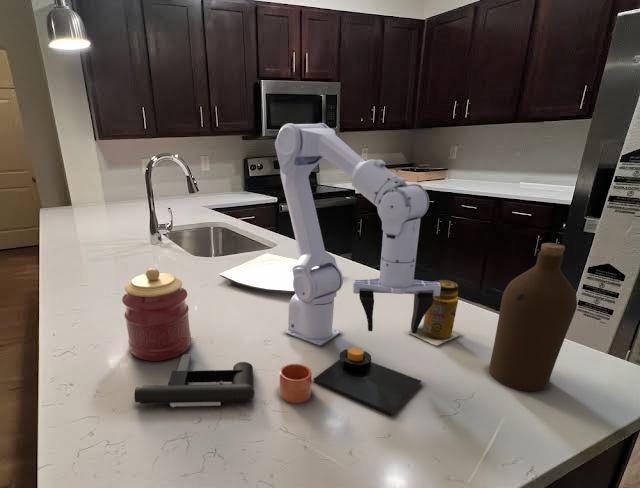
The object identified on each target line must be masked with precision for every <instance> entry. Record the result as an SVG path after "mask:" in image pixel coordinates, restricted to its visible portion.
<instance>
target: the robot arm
mask: <svg viewBox="0 0 640 488" xmlns="http://www.w3.org/2000/svg"><path fill="white" fill-rule="evenodd" d="M274 148H275V152H276V157H277V160H278V164H279V173H280V179H281V183H282V187H283V191H284V196H285V199H286V200H285V201H286V204H287V210H288V212H289V217H290V222H291V225H292V230H293V234H294V238H295V243H296V248H297V250H298V256H299V258H298V259H297V260H298V261H297V262H296V264H295V265H294V266H293V268H292V271H293V288H294V291H295V293H294V295H292V297H291V299H290V301H289V304H288V318H287V319H288V321H287V322H288V323H287V325H288V326H287V330H286V331H285V333H286V334H287V335H290V336H292V337H295V338H298V339H300V340H304V341H306V342H309V343H311V344H315V345H317V346H319V347H320V346H321V347H322V346H323V345H324V344H327V342H329V341H331V340H332V339H334V338H335V337H336V336H338V335H339V334H340V333H341V332H340V330H338V329H335V328H333V323H334V321H333V320H334V308H335V307H334V306H335V298H336V297H337V292H339V291H341V289H342V287H343V285H344V277H343V273H342V271H341V269H340V268H339V267H338V264H337V261H336V258H335V256H333V255H332V254H330V253H329V252H327V251H326V249H325V244H324V239H323V235H322V230H321V228H320V227H321V226H320V223H319V218H318V214H317V209H316V205H315V201H314V195H313V191H312V188H311V183H310V179H309V177H310V175H311V172H313V170H314V169H315V168H316V167H317V166H318V164H320V162H321V161H322V160H323V159H325V160H327V161H328V162H329V163H331V164H332V165H334V166H335V167H337V168H338V169H340V170H341V171H342V172H344V173H345V174H347V175H348V176H349V177H351V185H352V187H353V189H355V190H356V191H357V192H358V193H359V194H361V196H363V197H364V198H365V199H367V200H368V201H369V202H370V203H372V204H373V205H374V206H375V207H376V209H377V214H378V216H379V218H380V220H381V230H382V240H381V245H382V246H381V254H380V255H381V256H380V267H379V268H380V269H379V277H378V278H368V279H367V278H366V279H353V283H352V284H353V285H352V287H353V288H352V293H353V294H358V295H359V301H360V303H361V306H362V308H363V310H364V314H365V317H366V322H367V331H368V332H373V327H374V325H373V324H374V323H373V321H374V320H373V318H374V316H373V315H374V306H375V297H374V296H375V295H374V294H393V295H413V308H412V309H413V310H412V316H411V322H410V331H412V333H417V330H418V328H420V327H419V326H420V325H421V322H422V320H423V319H424V317H425V313H426V312H427V311H428V309H429V308H430V307H431V306H432V304H433V302H434V299H433V296H440V290H441V285H440V284H439V282H434V281H427V280H419V279H415V271H416V265H417V264H416V263H417V254H418V244H419V236H420V229H421V219H422V218H423V216H424V215H425V214H426V213H427V211H428V210H429V206H430V197H429V194H428V192H427V190H425V189H424V188H423V186H422V184H419V183H410V184H409V183H407V182H406V181H407V180H406V178H404V177H403V176H398V175H397V174H395V173H394V172H393V171H392V170H390V169H389V168H387V167H386V162H385V161H384V160H382V159H373V158H371V159H367V160H366V159H364V158H362V157H361V156H360V155H359V154H358V153H357V152H356V151H354V150H353V149H352V148H351V147H350V146H349V145H348V144H347V143H346V142H345V141H343V139H341V138H340V137H339V136H338V135H337V134H336V131H335V129H333V128H331V127H329V126H328V125H327V124H325V123H323V122H318V123H285V124H284V125H282V126H281V127H280V130H279V132H278V134H277V136H276V139H275V142H274ZM316 266H318V267H319V268H316V269H312V268H313V267H316ZM311 269H312V270H311Z"/></svg>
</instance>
